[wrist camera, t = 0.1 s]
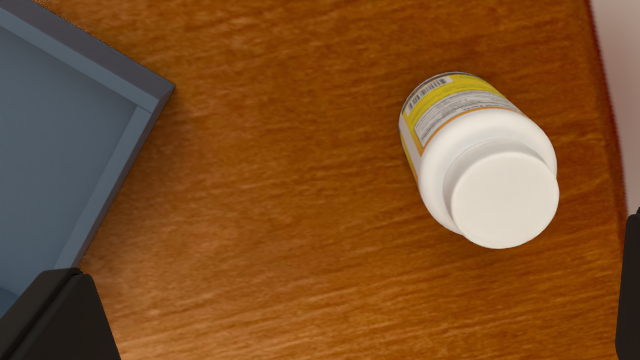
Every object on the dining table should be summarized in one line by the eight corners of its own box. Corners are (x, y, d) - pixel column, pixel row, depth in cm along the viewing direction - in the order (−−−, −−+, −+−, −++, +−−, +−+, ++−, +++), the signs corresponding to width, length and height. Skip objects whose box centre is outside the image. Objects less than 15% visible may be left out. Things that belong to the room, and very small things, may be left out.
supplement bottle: (482, 177, 31) (549, 280, 22) (385, 157, 31) (410, 254, 21) (517, 80, 29) (607, 148, 19) (413, 57, 28) (454, 116, 19)
